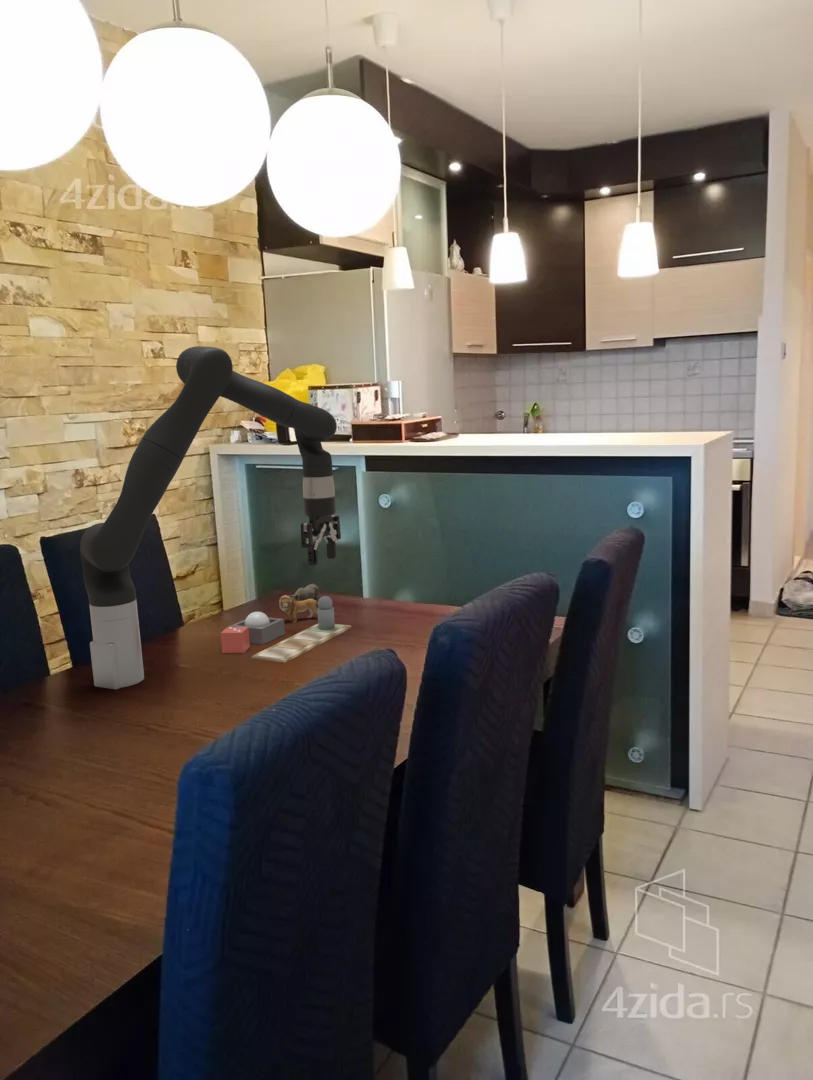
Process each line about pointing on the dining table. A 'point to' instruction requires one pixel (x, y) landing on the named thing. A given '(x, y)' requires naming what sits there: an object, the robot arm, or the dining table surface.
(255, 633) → the dome collar
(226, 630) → the die
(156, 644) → the dining table surface
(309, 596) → the rhino figurine
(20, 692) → the dining table surface
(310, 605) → the lion figurine
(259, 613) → the dome
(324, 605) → the pawn
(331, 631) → the board
